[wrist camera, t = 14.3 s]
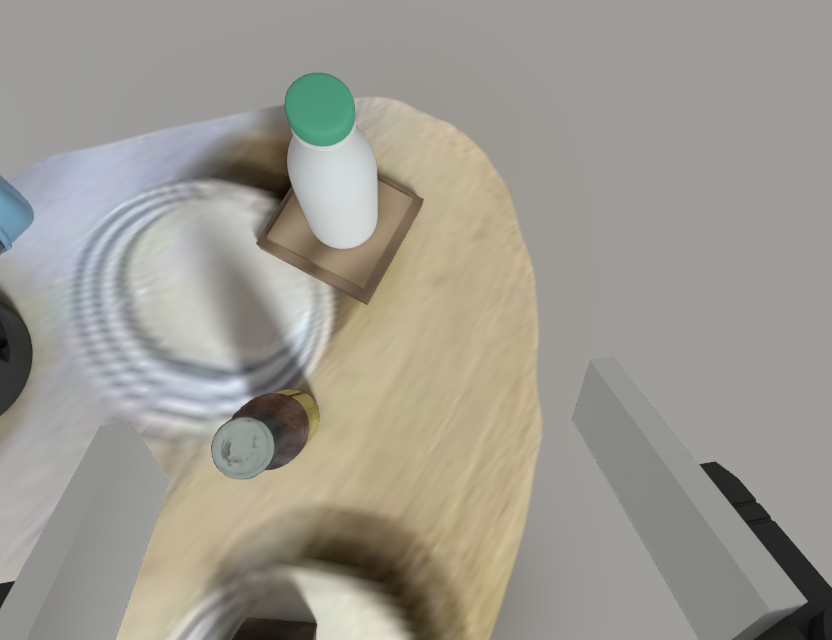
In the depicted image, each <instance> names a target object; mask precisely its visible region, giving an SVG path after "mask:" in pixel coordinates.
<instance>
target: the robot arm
mask: <svg viewBox="0 0 832 640" xmlns="http://www.w3.org/2000/svg"><path fill="white" fill-rule="evenodd" d="M33 219H34V213H33V209H32V207H31V205H30V204H29V203H28V201H27V200H26V199H25V198H24V197H23V196H22V195H21V194H20V193H19V192H18V191H17V190H16V189H15V188H14V187H13V186H12V185H10V184H9V183H8V182H7V181H6V180H5V179H4V178H3V177H2V176H0V255H1V254H2V253H3V252H4V251H8V250H9V249H11V247H12V243H13V242H14V241H15V240H16V239H17V238H18V237H19V236H20V235H21V234H22V233H23V232H24V231H25V230H26V229H27V228H28V227H29V226H30V225H31V224H32V222H33ZM31 362H32V348H31V342H30V338H29V335H28V332H27V330H26V328H25V326H24V324H23V322H22V321H21V319H20V318H19V317H18V316H17V315H16V313H15V312H13V311H12V310H11V309H10V308H9V307H8V306H6V305H5V304H3V303H1V302H0V416H1V415H2V414H3V413H4V412H5V411H7V410H8V409H9V407H10V406H11V405H12V404H13V403H14V402H15V401H16V399H17V398H18V396H19V395H20V393H21V392H22V390H23V388H24V386H25V384H26V382H27V379H28V376H29V373H30V368H31ZM572 420H573V422H574V424H575V425H576V427H577V428H578V431H579V432H580V434H581V436H582V438H583V439H584V441H585V443H586V444H587V446H588V448H589V449H590V451H591V453H592V455H593V457H594V458H595V460H596V462H597V464H598V465H599V467H600V469H601V471H602V472H603V474H604V476H605V477H606V479H607V481H608V483H609V484H610V486H611V488H612V489H613V491H614V493H615V495H616V497H617V498H618V500H619V502H620V504H621V505H622V507H623V509H624V510H625V512H626V514H627V516H628V518H629V519H630V521H631V522H632V524H633V526H634V528H635V530H636V531H637V533H638V535H639V536H640V538H641V540H642V542H643V543H644V545H645V547H646V549H647V551H648V552H649V554H650V556H651V557H652V559H653V561H654V563H655V564H656V566H657V568H658V570H659V571H660V573H661V575H662V577H663V578H664V580H665V582H666V584H667V585H668V587H669V589H670V591H671V592H672V594H673V596H674V597H675V599H676V601H677V603H678V604H679V606H680V608H681V609H682V611H683V613H684V615H685V616H686V618H687V620H688V622H689V623H690V625H691V627H692V629H693V630H694V632H695V634H696V636H697V637H698V639H699V640H832V588H831V586H830V585H829V584H828V583H827V582H826V581H825V580H824V578H823V577H822V576H821V575H820V574H819V573H818V571H817V570H816V569H815V568H814V567H813V566H812V564H811V563H810V562H809V561H808V560H807V559H806V557H805V556H804V555H803V554H802V553H801V552H800V550H799V549H798V548H797V547H796V546H795V544H794V543H793V542H792V541H791V540H790V539H789V537H788V536H787V535H786V534H785V533H784V532H783V531H782V529H781V528H780V527H779V526H778V525H777V523H776V522H775V521H772V520H771V518H770V515H769V514H768V513H767V512H766V511H765V509H764V508H763V507H762V506H761V505H760V504H758V503H757V502H756V499H755V498H754V496H753V495H752V494H751V493H750V492H749V491H748V489H747V488H746V487H745V486H744V485H743V484H742V483H741V481H740V480H739V479H738V478H737V477H735V476H734V475H733V474H731V473H730V472H729V471H727V470H726V469H725V468H723V467H722V466H721V465H719V464H718V463H717V462H710V463H704V464H698V462H697V461H696V460H695V459H694V457H693V456H692V455H691V454H690V452H689V451H688V450H687V449H686V447H685V446H684V445H683V444H682V442H681V441H680V440H679V439H678V437H677V436H676V435H675V433H674V432H673V431H672V430H671V428H670V427H669V426H668V425H667V423H666V422H665V421H664V420H663V419H662V417H661V416H660V415H659V413H658V412H657V411H656V410H655V408H654V407H653V406H652V405H651V403H650V402H649V401H648V399H647V398H646V397H645V396H644V394H643V393H642V392H641V391H640V390H639V388H638V387H637V386H636V384H635V383H634V382H633V381H632V379H631V378H630V377H629V376H628V374H627V373H626V372H625V371H624V369H623V368H622V367H621V366H620V364H619V363H618V362H617V361H616V359H615V358H614V357H608V358H601V359H593V360H590V361H589V365H588V368H587V371H586V374H585V378H584V381H583V384H582V387H581V391H580V394H579V397H578V401H577V404H576V407H575V410H574V414H573V417H572ZM169 482H170V479H169V477H168V476H167V474H166V473H165V471H164V470H163V468H162V467H161V465H160V464H159V463H158V461H157V460H156V458H155V457H154V455H153V454H152V452H151V451H150V449H149V448H148V446H147V445H146V444H145V442H144V441H143V439H142V438H141V436H140V435H139V433H138V432H137V430H136V429H135V427H134V426H133V425H132V423H131V422H128V423H120V424H113V425H106V426H100V428H99V430H98V431H97V433H96V435H95V437H94V439H93V441H92V442H91V444H90V446H89V448H88V450H87V452H86V453H85V455H84V457H83V459H82V461H81V462H80V464H79V466H78V468H77V470H76V472H75V473H74V475H73V477H72V479H71V481H70V483H69V484H68V486H67V488H66V490H65V492H64V493H63V495H62V497H61V499H60V501H59V503H58V504H57V506H56V508H55V510H54V512H53V514H52V515H51V517H50V519H49V521H48V523H47V525H46V526H45V528H44V530H43V532H42V534H41V535H40V537H39V539H38V541H37V543H36V545H35V546H34V548H33V550H32V552H31V554H30V556H29V557H28V559H27V561H26V563H25V565H24V566H23V568H22V570H21V572H20V574H19V576H18V577H17V579H16V581H13V582H7V583H1V584H0V640H116V637H117V634H118V631H119V628H120V626H121V623H122V620H123V617H124V614H125V611H126V608H127V605H128V602H129V599H130V596H131V593H132V590H133V587H134V584H135V581H136V579H137V576H138V573H139V570H140V567H141V564H142V561H143V558H144V555H145V552H146V549H147V546H148V543H149V540H150V537H151V534H152V532H153V529H154V526H155V523H156V520H157V517H158V514H159V511H160V508H161V505H162V502H163V499H164V496H165V493H166V490H167V487H168V485H169Z"/></svg>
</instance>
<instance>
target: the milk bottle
mask: <svg viewBox="0 0 832 640" xmlns="http://www.w3.org/2000/svg"><path fill="white" fill-rule="evenodd" d="M285 112H286V116H287V119H288V122H289V124H290V127H291V130H292V133H293V137H292V139H291V142H290V145H289V149H288V155H287V167H288V173H289V177H290V181H291V184H292V187H293V189H294V192H295V194H296V197H297V199H298V201H299V204H300V206H301V208H302V211H303V213H304V215H305V218H306V220H307V222H308V224H309V226H310V228H311V230H312V232H313V233H314V235H315V236H316V237H317V238H318V239H319V240H320V241H321V242H323V243H324V244H326V245H328V246H330V247H333V248H338V249H348V248H353V247H356V246H359V245H361V244H362V243H364V242H365V241H366V240H367V239H368V238H369V237H370V236H371V235H372V233H373V232H374V230H375V227H376V224H377V218H378V176H377V165H376V159H375V155H374V152H373V149H372V147H371V145H370V143H369V141H368V139H367V138H366V136H365V135H364V133H363V132H362V131H361V130H360V129H359V128H358V127H357V126H356V117H355V105H354V100H353V97H352V95H351V92H350V91H349V89H348V87H347V86H346V85H345V84H344V83H343V82H342V81H341V80H339V79H338V78H336V77H334V76H332V75H329V74H325V73H311V74H307V75H304V76H302V77H300V78H299V79H297V80H296V81H295V82H293V83H292V85H291V86H290V87H289V89H288V91H287V93H286V97H285Z"/></svg>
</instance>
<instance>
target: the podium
mask: <svg viewBox="0 0 832 640" xmlns="http://www.w3.org/2000/svg"><path fill="white" fill-rule="evenodd" d="M377 176H378V218H377V224H376V227H375V230H374V232H373V233H372V235H371V236H370V237H369V238H368V239H367V240H366V241H365V242H364V243H362V244H361V245H359V246H356V247H353V248H348V249H338V248H333V247H330V246H328V245H326V244H324V243H323V242H321V241H320V240H319V239H318V238H317V237H316V236H315V235H314V233H313V232H312V230H311V228H310V226H309V224H308V222H307V220H306V218H305V215H304V213H303V211H302V208H301V206H300V204H299V201H298V199H297V197H296V194H295V192H294V189H293V187H292V186H291V188H290V190H289V191H288V193H287V194H286V196H285V198H284V199H283V201H282V202H281V204H280V206H279V207H278V209H277V211H276V212H275V214H274V215H273V217H272V219H271V220H270V222H269V223H268V225H267V227H266V228H265V230H264V231H263V233H262V235H261V236H260V238H259V240H258V241H257V243H256V244H257V245H258V246H259V247H260V248H261V249H262V250H264V251H266V252H268V253H270V254H272V255H274V256H276V257H277V258H279V259H281V260H283V261H285V262H287V263H289V264H291V265H293V266H294V267H296V268H298V269H300V270H302V271H304V272H306V273H308V274H310V275H311V276H313V277H315V278H317V279H319V280H321V281H323V282H325V283H327V284H328V285H330V286H332V287H334V288H336V289H338V290H340V291H342V292H344V293H346V294H347V295H349V296H351V297H353V298H355V299H357V300H359V301H361V302H363V303H364V304H366V305H368V303H369V301H370V299H371V297H372V296H373V294H374V292H375V290H376V288H377V287H378V285H379V283H380V281H381V279H382V278H383V276H384V274H385V272H386V270H387V268H388V267H389V265H390V263H391V261H392V259H393V258H394V256H395V254H396V252H397V250H398V249H399V247H400V245H401V243H402V241H403V239H404V238H405V236H406V234H407V232H408V230H409V229H410V227H411V225H412V223H413V221H414V220H415V218H416V216H417V214H418V212H419V211H420V209H421V207H422V204H423V200H424V199H422V198H420V197H418V196H417V195H415V194H413V193H411V192H409V191H407V190H405V189H404V188H402V187H400V186H398V185H396V184H394V183H392V182H390V181H389V180H387V179H385V178H383V177H381V176H379V175H377Z"/></svg>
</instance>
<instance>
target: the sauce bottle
mask: <svg viewBox="0 0 832 640" xmlns="http://www.w3.org/2000/svg"><path fill="white" fill-rule="evenodd" d="M319 422H320V416H319V409H318V405H316V403H315V401H314V400H313V399H312V398H311V397H310V396H309V395H308V394H306V393H305V392H303V391H299V390H294V389H287V390H282V391H277V392H273V393H268V394H264V395H261V396H259V397H256V398H254V399H252V400H251V401H249V402H248V403H247V404H245V405H244V406H242V407H241V409H240V410H239V411H237V412H236V413H235V414H234V415H233V417H232V419H231V420H229V421H228V422H226V423H225V424H224V425H222V426H221V427H220V428H219V429H218V431H217V433H216V434H215V436H214V439H213V442H212V446H211V452H212V457H213V460H214V464H215V465H216V467H217V468H218V469H219V471H221V472H222V473H223V474H224V475H225V476H227V477H230V478H233V479H250V478H253V477H255V476H257V475H258V474H260V473H261V472H263V471H264V470H273V469H276V468H280V467H282V466H284V465H286V464H288V463H289V462H290V461H292V460H293V459H294V458H295V457H296V456H297V455H298V454H299V453H300V452H301V451H302V450H303V448H304V447H305V446H306V445H307V444H308V442H309V441H310V439H311V438H312V437H313V436H314V434H315V432H316V431H317V428H318V425H319Z"/></svg>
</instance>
